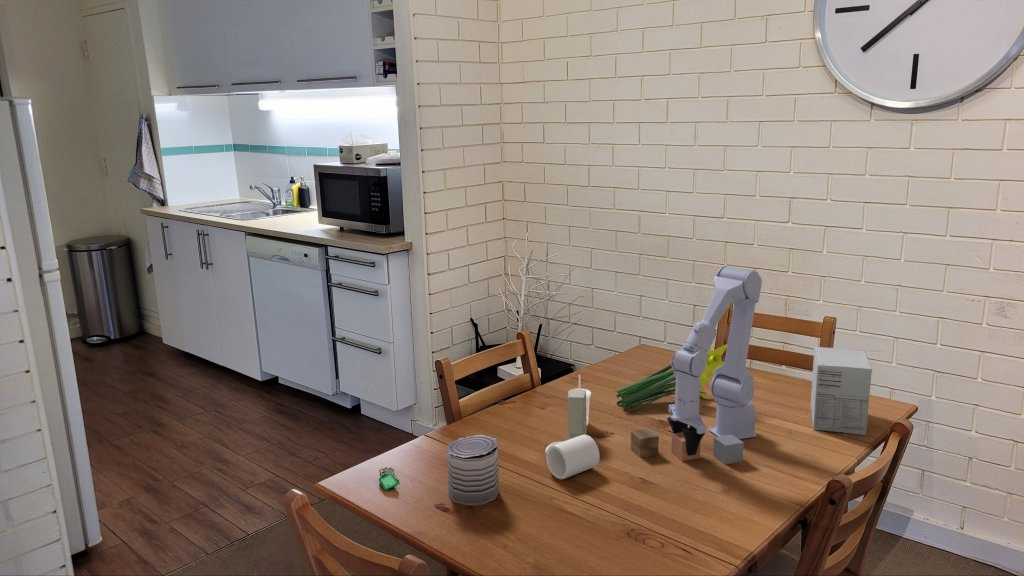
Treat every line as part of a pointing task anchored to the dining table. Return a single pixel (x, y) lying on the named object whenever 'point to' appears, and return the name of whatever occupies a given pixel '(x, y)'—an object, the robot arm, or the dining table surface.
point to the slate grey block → (728, 449)
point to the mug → (572, 456)
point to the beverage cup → (586, 400)
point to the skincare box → (576, 413)
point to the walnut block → (644, 442)
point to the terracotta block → (682, 447)
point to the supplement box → (840, 390)
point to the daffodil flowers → (664, 383)
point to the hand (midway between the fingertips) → (685, 449)
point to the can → (473, 470)
